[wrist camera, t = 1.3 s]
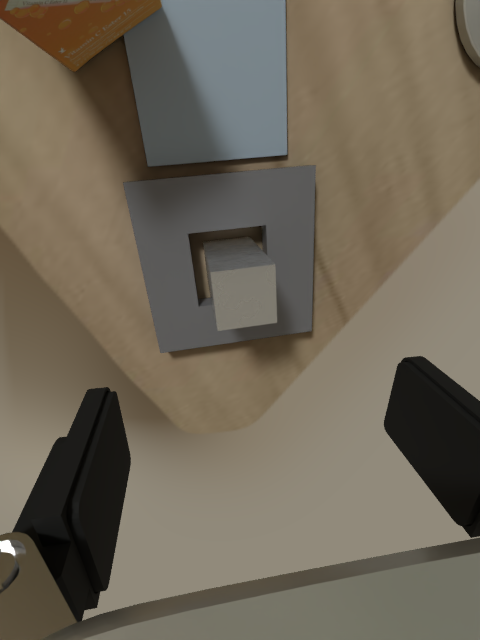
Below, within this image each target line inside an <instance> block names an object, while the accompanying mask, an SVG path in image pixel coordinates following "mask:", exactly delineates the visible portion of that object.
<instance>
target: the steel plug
mask: <svg viewBox="0 0 480 640" xmlns="http://www.w3.org/2000/svg"><path fill="white" fill-rule="evenodd" d="M203 246H204V254H205V262H206V270H207V278H208V285H209V291H210V296H211V301H212V306H213V311H214V316H215V321H216V326H217V330H218V331H222V330H229V329H236V328H243V327H250V326H257V325H264V324H271V323H277V301H276V268H275V263H274V262H273V261H272V260H271V259H270V258H269V257H268V256H267V255H266V254H265V253H264V252H263V251H262V250H261V248H260V247H259V246H258V245H257V244H256V243H255V242H254V241H253V240H252V239H251V238H250V237H240V238H231V239H222V240H213V241H204V242H203Z"/></svg>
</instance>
